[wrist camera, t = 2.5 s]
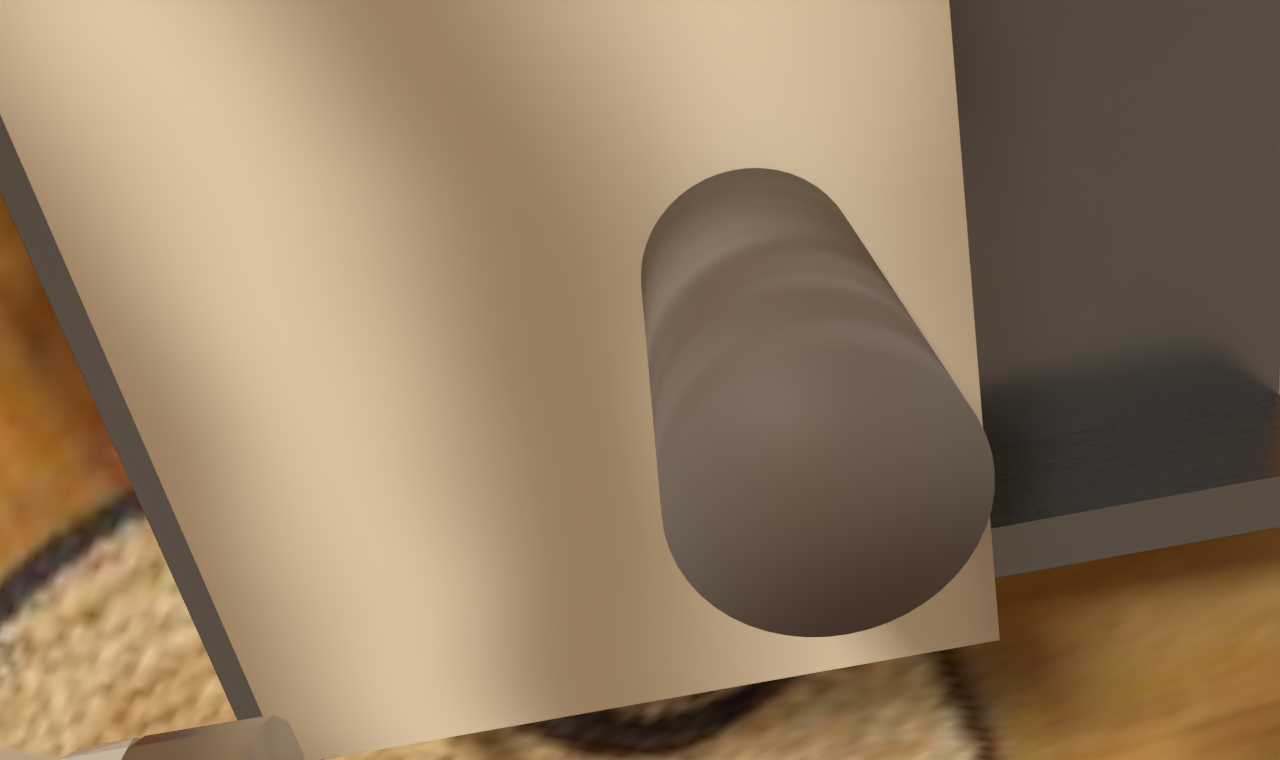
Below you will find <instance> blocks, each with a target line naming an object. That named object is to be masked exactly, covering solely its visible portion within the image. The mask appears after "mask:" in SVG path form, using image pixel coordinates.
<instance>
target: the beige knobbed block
mask: <svg viewBox="0 0 1280 760" xmlns="http://www.w3.org/2000/svg"><path fill="white" fill-rule="evenodd" d="M0 115H1V117H2V119H3V122H4V124H5V126H6V129H7V131H8V133H9V136H10V138H11V140H12V142H13V145H14V147H15V149H16V152H17V154H18V156H19V158H20V161H21V163H22V165H23V168H24V170H25V172H26V174H27V177H28V179H29V181H30V184H31V186H32V188H33V191H34V193H35V195H36V197H37V200H38V202H39V204H40V207H41V209H42V211H43V213H44V216H45V218H46V220H47V223H48V225H49V227H50V230H51V232H52V234H53V236H54V239H55V241H56V243H57V246H58V248H59V250H60V252H61V255H62V257H63V259H64V262H65V264H66V266H67V268H68V271H69V273H70V275H71V278H72V280H73V282H74V285H75V287H76V289H77V291H78V294H79V296H80V298H81V301H82V303H83V305H84V307H85V310H86V312H87V314H88V317H89V319H90V321H91V323H92V326H93V328H94V330H95V333H96V335H97V337H98V340H99V342H100V344H101V346H102V349H103V351H104V353H105V356H106V358H107V360H108V362H109V365H110V367H111V369H112V372H113V374H114V376H115V378H116V381H117V383H118V385H119V388H120V390H121V392H122V395H123V397H124V399H125V401H126V404H127V406H128V408H129V411H130V413H131V415H132V417H133V420H134V422H135V424H136V427H137V429H138V431H139V433H140V436H141V438H142V440H143V443H144V445H145V447H146V450H147V452H148V454H149V456H150V459H151V461H152V463H153V466H154V468H155V470H156V472H157V475H158V477H159V479H160V482H161V484H162V486H163V489H164V491H165V493H166V495H167V498H168V500H169V502H170V505H171V507H172V509H173V511H174V514H175V516H176V518H177V521H178V523H179V525H180V527H181V530H182V532H183V534H184V537H185V539H186V541H187V544H188V546H189V548H190V550H191V553H192V555H193V557H194V560H195V562H196V564H197V566H198V569H199V571H200V573H201V576H202V578H203V580H204V582H205V585H206V587H207V589H208V592H209V594H210V596H211V599H212V601H213V603H214V605H215V608H216V610H217V612H218V615H219V617H220V619H221V621H222V624H223V626H224V628H225V631H226V633H227V635H228V637H229V640H230V642H231V644H232V647H233V649H234V651H235V654H236V656H237V658H238V660H239V663H240V665H241V667H242V670H243V672H244V674H245V676H246V679H247V681H248V683H249V686H250V688H251V690H252V692H253V695H254V697H255V699H256V702H257V704H258V706H259V709H260V711H261V713H262V715H263V716H269V715H275V716H277V717H280V718H282V719H284V720H286V721H288V722H289V724H290V726H291V728H292V730H293V733H294V735H295V737H296V739H297V741H298V743H299V745H300V747H301V750H302V752H303V754H304V759H303V760H323V759H329V758H334V757H340V756H346V755H351V754H357V753H363V752H368V751H374V750H380V749H385V748H391V747H397V746H402V745H408V744H414V743H419V742H425V741H431V740H436V739H442V738H448V737H453V736H459V735H465V734H470V733H476V732H482V731H488V730H493V729H499V728H505V727H510V726H516V725H522V724H527V723H533V722H539V721H544V720H550V719H556V718H561V717H567V716H573V715H578V714H584V713H590V712H595V711H601V710H607V709H612V708H618V707H624V706H629V705H635V704H641V703H646V702H652V701H658V700H663V699H669V698H675V697H680V696H686V695H692V694H697V693H703V692H709V691H714V690H720V689H726V688H731V687H737V686H743V685H748V684H754V683H760V682H765V681H771V680H777V679H782V678H788V677H794V676H799V675H805V674H811V673H816V672H822V671H828V670H833V669H839V668H845V667H850V666H856V665H862V664H867V663H873V662H879V661H884V660H890V659H896V658H901V657H907V656H913V655H918V654H924V653H930V652H935V651H941V650H947V649H952V648H958V647H964V646H969V645H975V644H981V643H986V642H992V641H998V640H1000V637H999V625H998V612H997V599H996V587H995V574H994V561H993V549H992V536H991V523H990V513H991V510H992V504H993V498H994V491H995V470H994V463H993V457H992V451H991V448H990V445H989V442H988V439H987V436H986V433H985V431H984V429H983V422H982V410H981V397H980V384H979V372H978V359H977V346H976V334H975V321H974V309H973V296H972V283H971V271H970V258H969V245H968V233H967V220H966V207H965V195H964V182H963V170H962V157H961V144H960V132H959V119H958V106H957V94H956V81H955V68H954V56H953V43H952V31H951V18H950V5H949V0H0Z"/></svg>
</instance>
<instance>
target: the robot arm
mask: <svg viewBox="0 0 1280 760" xmlns="http://www.w3.org/2000/svg"><path fill="white" fill-rule="evenodd" d="M303 759H304V754H303V752H302V750H301V747H300V745H299V743H298V741H297V739H296V737H295V735H294V733H293V730H292V728H291V726H290V724H289V722H288V721H286V720H284V719H282V718H280V717H277V716H275V715H269V716H263V717H257V718H251V719H245V720H238V721H232V722H226V723H220V724H214V725H208V726H202V727H196V728H190V729H184V730H178V731H172V732H166V733H160V734H154V735H148V736H144V737H143V738H133V739H128V740H122V741H117V742H111V743H106V744H100V745H94V746H89V747H83V748H79V749H77V750H75V751H74V752H72V753H70V754H69V755H67V756H65V757H64V758H62V759H61V760H303Z"/></svg>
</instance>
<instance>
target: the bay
mask: <svg viewBox="0 0 1280 760" xmlns="http://www.w3.org/2000/svg"><path fill="white" fill-rule="evenodd" d="M949 5H950V18H951V31H952V43H953V56H954V68H955V81H956V94H957V106H958V119H959V132H960V144H961V157H962V170H963V182H964V195H965V207H966V220H967V233H968V245H969V258H970V271H971V283H972V296H973V309H974V321H975V334H976V346H977V359H978V372H979V384H980V397H981V410H982V422H983V429H984V431H985V433H986V436H987V439H988V442H989V445H990V448H991V451H992V457H993V463H994V470H995V491H994V498H993V504H992V510H991V513H990V523H991V536H992V549H993V561H994V574H995V578H999V577H1004V576H1010V575H1015V574H1021V573H1026V572H1032V571H1038V570H1043V569H1049V568H1054V567H1060V566H1065V565H1071V564H1077V563H1082V562H1088V561H1093V560H1099V559H1104V558H1110V557H1116V556H1121V555H1127V554H1132V553H1138V552H1143V551H1149V550H1155V549H1160V548H1166V547H1171V546H1177V545H1182V544H1188V543H1194V542H1199V541H1205V540H1210V539H1216V538H1221V537H1227V536H1233V535H1238V534H1244V533H1249V532H1255V531H1260V530H1266V529H1272V528H1277V527H1280V395H1279V394H1278V392H1279V370H1280V0H949ZM0 193H1V195H2V197H3V199H4V202H5V204H6V206H7V208H8V211H9V213H10V215H11V217H12V219H13V222H14V224H15V226H16V228H17V231H18V233H19V235H20V237H21V239H22V242H23V244H24V246H25V248H26V251H27V253H28V255H29V257H30V259H31V262H32V264H33V266H34V268H35V271H36V273H37V275H38V277H39V280H40V282H41V284H42V286H43V288H44V291H45V293H46V295H47V297H48V300H49V302H50V304H51V306H52V308H53V311H54V313H55V315H56V317H57V320H58V322H59V324H60V326H61V328H62V331H63V333H64V335H65V337H66V340H67V342H68V344H69V346H70V348H71V351H72V353H73V355H74V357H75V360H76V362H77V364H78V366H79V369H80V371H81V373H82V375H83V377H84V380H85V382H86V384H87V386H88V389H89V391H90V393H91V395H92V397H93V400H94V402H95V404H96V406H97V409H98V411H99V413H100V415H101V417H102V420H103V422H104V424H105V426H106V429H107V431H108V433H109V435H110V438H111V440H112V442H113V444H114V446H115V449H116V451H117V453H118V455H119V458H120V460H121V462H122V464H123V466H124V469H125V471H126V473H127V475H128V478H129V480H130V482H131V484H132V486H133V489H134V491H135V493H136V495H137V498H138V500H139V502H140V504H141V507H142V509H143V511H144V513H145V515H146V518H147V520H148V522H149V524H150V527H151V529H152V531H153V533H154V535H155V538H156V540H157V542H158V544H159V547H160V549H161V551H162V553H163V555H164V558H165V560H166V562H167V564H168V567H169V569H170V571H171V573H172V576H173V578H174V580H175V582H176V584H177V587H178V589H179V591H180V593H181V596H182V598H183V600H184V602H185V604H186V607H187V609H188V611H189V613H190V616H191V618H192V620H193V622H194V624H195V627H196V629H197V631H198V633H199V636H200V638H201V640H202V642H203V644H204V647H205V649H206V651H207V653H208V656H209V658H210V660H211V662H212V665H213V667H214V669H215V671H216V673H217V676H218V678H219V680H220V682H221V685H222V687H223V689H224V691H225V693H226V696H227V698H228V700H229V702H230V705H231V707H232V709H233V711H234V713H235V716H236V718H237V720H245V719H251V718H257V717H263V715H262V713H261V711H260V709H259V706H258V704H257V702H256V699H255V697H254V695H253V692H252V690H251V688H250V686H249V683H248V681H247V679H246V676H245V674H244V672H243V670H242V667H241V665H240V663H239V660H238V658H237V656H236V654H235V651H234V649H233V647H232V644H231V642H230V640H229V637H228V635H227V633H226V631H225V628H224V626H223V624H222V621H221V619H220V617H219V615H218V612H217V610H216V608H215V605H214V603H213V601H212V599H211V596H210V594H209V592H208V589H207V587H206V585H205V582H204V580H203V578H202V576H201V573H200V571H199V569H198V566H197V564H196V562H195V560H194V557H193V555H192V553H191V550H190V548H189V546H188V544H187V541H186V539H185V537H184V534H183V532H182V530H181V527H180V525H179V523H178V521H177V518H176V516H175V514H174V511H173V509H172V507H171V505H170V502H169V500H168V498H167V495H166V493H165V491H164V489H163V486H162V484H161V482H160V479H159V477H158V475H157V472H156V470H155V468H154V466H153V463H152V461H151V459H150V456H149V454H148V452H147V450H146V447H145V445H144V443H143V440H142V438H141V436H140V433H139V431H138V429H137V427H136V424H135V422H134V420H133V417H132V415H131V413H130V411H129V408H128V406H127V404H126V401H125V399H124V397H123V395H122V392H121V390H120V388H119V385H118V383H117V381H116V378H115V376H114V374H113V372H112V369H111V367H110V365H109V362H108V360H107V358H106V356H105V353H104V351H103V349H102V346H101V344H100V342H99V340H98V337H97V335H96V333H95V330H94V328H93V326H92V323H91V321H90V319H89V317H88V314H87V312H86V310H85V307H84V305H83V303H82V301H81V298H80V296H79V294H78V291H77V289H76V287H75V285H74V282H73V280H72V278H71V275H70V273H69V271H68V268H67V266H66V264H65V262H64V259H63V257H62V255H61V252H60V250H59V248H58V246H57V243H56V241H55V239H54V236H53V234H52V232H51V230H50V227H49V225H48V223H47V220H46V218H45V216H44V213H43V211H42V209H41V207H40V204H39V202H38V200H37V197H36V195H35V193H34V191H33V188H32V186H31V184H30V181H29V179H28V177H27V174H26V172H25V170H24V168H23V165H22V163H21V161H20V158H19V156H18V154H17V152H16V149H15V147H14V145H13V142H12V140H11V138H10V136H9V133H8V131H7V129H6V126H5V124H4V122H3V119H2V117H1V115H0ZM323 760H324V759H323Z"/></svg>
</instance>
